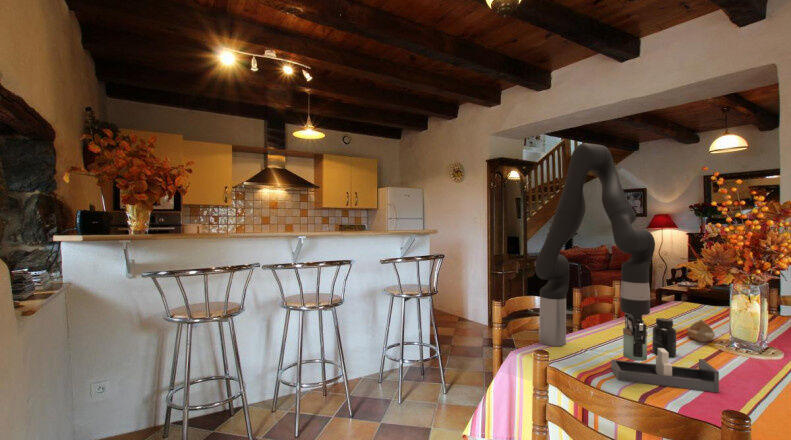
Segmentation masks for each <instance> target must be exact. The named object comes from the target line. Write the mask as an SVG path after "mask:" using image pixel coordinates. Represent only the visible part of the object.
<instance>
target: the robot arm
mask: <svg viewBox="0 0 791 440" xmlns="http://www.w3.org/2000/svg"><path fill="white" fill-rule="evenodd" d="M610 151H611V150H609V148H608V147H607V146H605V145H602V144H595V143H589V142H588V143H587V142H585V143H580V144H578V145H577V146H576V147H575V148H574V150H573V152H572V154H571V156H570V160H569V164H568V169H567V173H566V177H565V182H564V185H563V189H562V192H561V195H560V198H559V202H558V204H557V206H556V209H555V212H554V214H553V215H554V216H553V219H552V222H551V224H550V227H549V230H548V232H547V235H546V237H545V238H546V239H545V240H544V243H543V245H542V247H541V250H540V251H539V253H538V256H537V257H536V260H535V265H534V266H535V267H534V269H535V274H536V275H537V277H538V278H539V279H541V280H548V281H547V283H546V284H545V285H544V286H543V287H541V288H540V290H539V316H538V317H539V319H538V320H539V322H538V323H539V324H538V325H539V327H538V328H539V329H538V333H539V334H538V338H539V339H538V340H539V341H538V342H539V344H543V345H545V346H551V347H562V346H563V347H564V346H566V344H567V342H566V341H567V294H568V291H569V286H570V270H571V269H570V262H569V261H568V258H567V257H566V256H564V255H563V254H560V253H561V250H562V249H563V247H564V246H565V244H567V242H569V240H570V239H571V238H572V237H573V236H574V235H575V234H576V233H577V231H578V230H579V229H580V226H581V225H582V222H583V219H584V217H585V213H586V208H587V207H586V201H585V194H584V185H585V181H586V178H587V176H588V174H589V172H590V173H594V174H595V175H596V176H597V178H598V180H599V182H600V184H601V202H602V206H603V209H604V212H605V214H606V215H607V217H608V219H609V222H610V224H611V230H612V235H613V241H614V244H615V246H616V247H617V248H618V250H619V251H621V252H622V253H624V254H631V255H630V257H629V259H628V260H627V261H624V262H622V264H621V271H620V272H621V276H620V277H621V281H620V287H619V288H620V289H619V290H620V291H619V292H620V297H619V298H620V300H619V301H620V304H619V305H620V306H619V307H620V308H619V309H620V311H621V312H622V313H624V328H630V332H631V335H632V336H633V355H634V356H635V357H642V356H643V345H642V344H645V343H646V331H647V324H646V323H645V320H643V316H646V315H649V314H651V288H650V266H651V264H652V260H653V257H654V253H655V249H656V241H655V238H654V235H653V234H652V232H650V231H648V230H646V229H634V227H633V225H632V224H633V223H635V221H636V220H637V216H636V212H635V211H634V209H633V207H632V205H631V203H630V201H629V200H628V197H627V195H626V193H625V191H624V189H623V187H622V184H621V180H620V178H619V175H618V172H617V169H616V168H617V167H616V166H615V161H614V159H613V156H612V153H611V152H610ZM633 331H634V332H633ZM638 336H640V337H641V339H638Z"/></svg>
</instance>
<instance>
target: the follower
mask: <svg viewBox="0 0 791 440" xmlns="http://www.w3.org/2000/svg"><path fill="white" fill-rule="evenodd" d="M669 358H670V357H669V353H668V352H667V351H666V350H665V349H664V348H658V355H656V356H655V364H656V373H657V374H658V375H665V376H672V366H673V364H671V362H670V361H669Z"/></svg>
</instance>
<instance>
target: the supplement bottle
mask: <svg viewBox="0 0 791 440" xmlns="http://www.w3.org/2000/svg"><path fill="white" fill-rule="evenodd" d="M651 342H652V343H651V344H652V345H651V347H652V353H654V354H655V355H656V356H658V348H664V349H665V350H666V351H667V352H668V353H669V358H674V357H676V356H677V330H676V329H675V328H674V321H673V320H672V319H671V318H670V319H669V318H664V317H657V318H655V325H654V326H653V327H652V341H651Z"/></svg>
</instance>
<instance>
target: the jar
mask: <svg viewBox="0 0 791 440" xmlns="http://www.w3.org/2000/svg"><path fill="white" fill-rule="evenodd" d="M633 332H634V331H633ZM622 333H623V336H622V337H623V338H622V340H623V343H622V345H623V347H622V349H623V351H622V352H623V353H622V354H623V357H624V358H626V359H628V360H632V361H636V362H639V361H640V362H642V361H643V362H645V361H647V360H648V331H647V330H646V343H645V344H642V345H643V356H642V357H635V356H634V355H633V336H632V335H631V332H630V328H625V327H624V328H622ZM638 339H641V337H640V336H638Z"/></svg>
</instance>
